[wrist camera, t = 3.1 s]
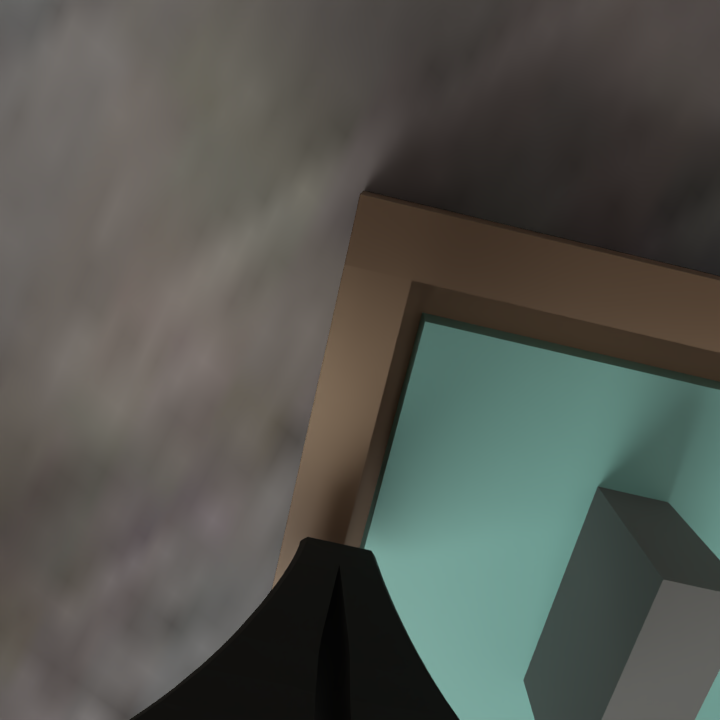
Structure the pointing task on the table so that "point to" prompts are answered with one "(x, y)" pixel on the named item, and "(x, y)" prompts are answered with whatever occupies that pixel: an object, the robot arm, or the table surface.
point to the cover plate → (553, 529)
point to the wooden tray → (479, 307)
